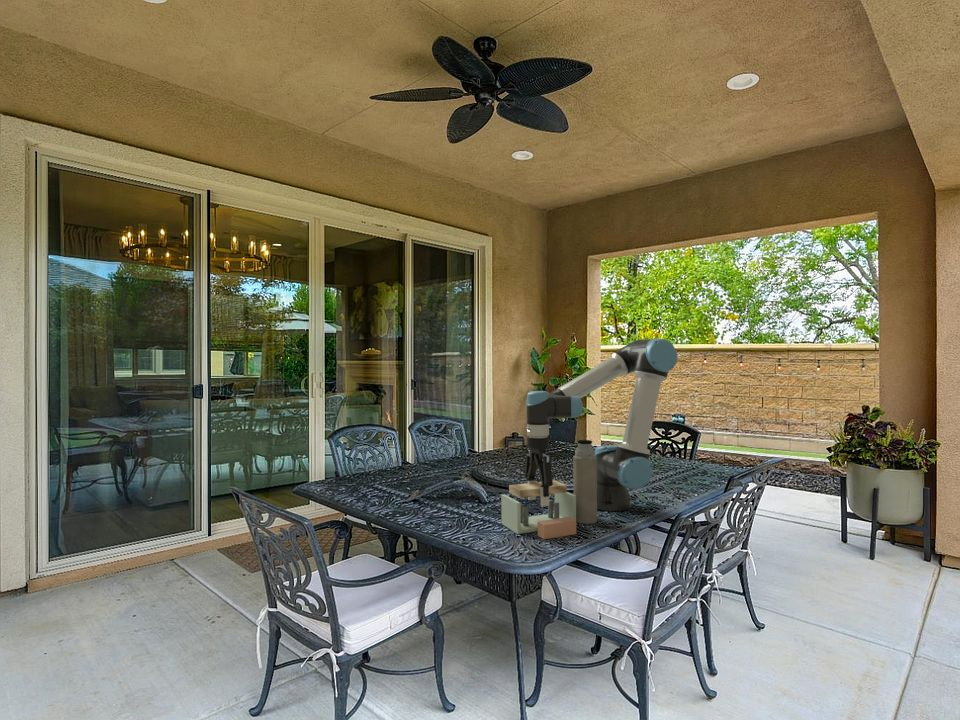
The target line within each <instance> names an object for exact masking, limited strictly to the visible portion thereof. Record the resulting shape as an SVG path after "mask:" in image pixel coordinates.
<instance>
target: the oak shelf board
mask: <svg viewBox="0 0 960 720" xmlns="http://www.w3.org/2000/svg"><path fill="white" fill-rule="evenodd" d="M552 481H553V485H552V486H549V496H550V495H555V494H558V493H566V492H568V488H567V487H568V486H567V484H566V483H565V484H564V483H562V482H560V481H558V480H555V479H552ZM541 485H542V484H541V481H538V482H537V481H536V482H535V483H528V482H527V483H520V484H519V483H518V484H509V485H508V490H509V491H508V493H509V494H511V495H513V496H515V497H517V498H519V499H524V498H526V499H527V498H528V497H534V496H536V497H540V486H541Z"/></svg>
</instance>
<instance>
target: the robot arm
mask: <svg viewBox="0 0 960 720" xmlns="http://www.w3.org/2000/svg"><path fill="white" fill-rule="evenodd" d="M677 363H678V352H677V349H676V347H675V346H674V344H673V343H672V342H671V341H669V340H668V339H664V338H655V337H654V338H647V339H644V338H643V339H637V340H634V341H632V342H629V343H628V344H626V345H624V346H623V347H621V348H620V349H618V350H616V351H614V352H613V353H612V354H611V355H610V357H609V358H608V359H606V360H604V361H602V362H601V363H599V364H598V365H597V364H596V366H594V367H592V368H590V369H589V370H587V371H585V372H584V373H582V374H579V376H577V377H575V378H573V379H572V380H569V381H568V382H566V383H565V384H563V385H561V386H559V387H558V388H556V389H554V390H552V391H550V392H548V391H546V390H531V391H528V392H527V394H526V404H525V405H526V406H525V407H526V436H527V437H526V447H527V449H528V450H527V449H526V450H525V461H524V463H525V465H524V474H523V475H524V478H526V480H527V483H535V482H537V478H536V474H537V470H538V473H539V479H540V482H541V484H542V485H541V486H540V496H539V497H540V507H548V506H549V500H550V495H549V486H552V485H553V474H552V472H553V471H552V463H551V462H552V455H547V451H546V450H547V449H548V448H549V447H550V438H549V435H550V419H573V418H579V417H581V416H582V413H583V409H584V406H583V405H584V404H583V401H582V398H584V397H585V396H587V395H589V394H591V393H592V392H594V391H596V390H598V389H599V388H601V387H602V386H604V385H606V384H608V383H610V382H611V381H613V380H615V379H617V378H618V377H620V376H626V375H628V374H630V373H633V374H635V376H636V380H635V384H634V385H635V386H634V390H633V395H632V398H631V403H630V407H629V411H628V412H629V413H628V416H627V420H626V425H625V429H624V434H623V438H622V442H620V443H619V444H615V445H613V444H612V445H609V444H608V445H600V446H599V445H598V446H596V447H595V449H594V452H595V453H594V456H596V457H597V510H601V511H609V512H610V511H611V512H620V511H621V512H622V511H623V512H624V511H628V510H630V509H631V508H632V500H631V497H630V493H629V491H628V489H632V490H638V489H642V488H643V487H645V486H647V484H649V482H650V481H651V479H652V476H653V472H654V471H653V466H652V463H651V462H650V455H651V452H650V451H649V449H648V444H649V440H650V435H651V430H652V426H653V422H654V421H653V420H654V416H655V414H656V413H655V412H656V409H657V408H656V407H657V404H658V399H659V394H660V389H661V387H662V383H663V382H664V381H666V380H667V378H668V375H669V372H670V371H671V370H673V369H674V368H675V366H676V365H677ZM527 499H528V501H534V500H536V499H537V496H534V497H527Z"/></svg>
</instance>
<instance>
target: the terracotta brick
mask: <svg viewBox="0 0 960 720" xmlns="http://www.w3.org/2000/svg"><path fill="white" fill-rule="evenodd" d="M572 535H577V522H576V520H575V519H573V518H571V517H565V518H558V519H552V520H545V521H538V531H537V536H538V537H539V538H540V539H543V540H548V539H556V538H561V537H566V536H567V537H568V536H572Z"/></svg>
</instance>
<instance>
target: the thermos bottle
mask: <svg viewBox="0 0 960 720" xmlns="http://www.w3.org/2000/svg"><path fill="white" fill-rule="evenodd" d="M592 443H593V441H592V440H591V439H590V440H589V439H578V440H577V448H575V450H574V454H575V455H573V456H572V457H573V459H572V461H573V465H572V466H573V474H572V475H573V477H572V478H573V495H576V523H577V524H578V523H579V524H587V525H589V524H595V523H597V522H598V509H597V457H596V456H594V455H595V449H593V445H592Z"/></svg>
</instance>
